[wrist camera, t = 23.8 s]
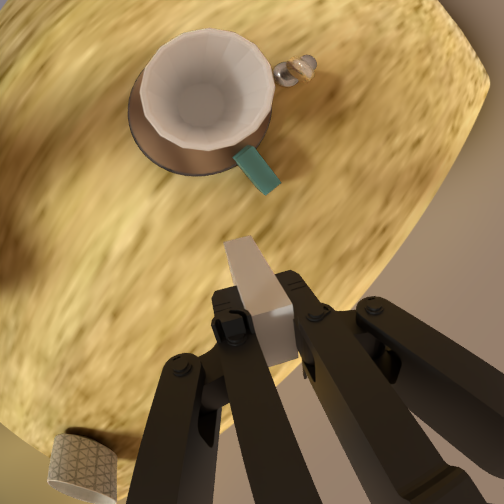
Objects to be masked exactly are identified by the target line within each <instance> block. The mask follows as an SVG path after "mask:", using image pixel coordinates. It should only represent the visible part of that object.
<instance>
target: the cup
mask: <svg viewBox="0 0 504 504" xmlns="http://www.w3.org/2000/svg"><path fill="white" fill-rule="evenodd" d="M274 91H275V84H274V79H273V74H272V70H271V66H270V63H269V62H268V60H267V59H266V58H265V56H264V55H263V54H262V52H261V51H260V50H259V48H258V47H257V46H256V45H255V44H254V43H252V42H250V41H249V40H247V39H245V38H244V37H242V36H240V35H239V34H237V33H235V32H231V31H225V30H219V29H213V28H205V29H200V30H195V31H190V32H185V33H182V34H180V35H179V36H177V37H175V38H174V39H172V40H170V41H169V42H167V43H166V44H164V45H162V46H161V47H160V48H159V49H158V51H157V52H156V53H155V55H154V56H153V57H152V59H151V60H150V61H149V63H148V64H147V65H146V67H145V70H144V74H143V78H142V83H141V87H140V97H141V101H142V106H143V110H144V115H145V117H146V118H147V119H148V121H149V122H150V123H151V125H152V126H153V127H154V128H155V130H156V131H157V132H158V134H159V135H160V136H162V137H164V138H166V139H167V140H169V141H171V142H173V143H175V144H176V145H178V146H180V147H182V148H188V149H196V150H204V151H212V150H216V149H220V148H224V147H228V146H233V145H236V144H237V143H239V142H240V141H242V140H243V139H245V138H246V137H247V136H249V135H251V134H252V133H254V132H255V131H256V130H257V129H258V128H259V126H260V125H261V123H262V122H263V120H264V119H265V117H266V116H267V115H268V113H269V112H270V110H271V105H272V100H273V96H274Z"/></svg>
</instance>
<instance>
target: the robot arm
mask: <svg viewBox="0 0 504 504" xmlns="http://www.w3.org/2000/svg"><path fill="white" fill-rule="evenodd" d="M223 243H224V247H225V251H226V255H227V259H228V263H229V267H230V271H231V275H232V279H233V283H234V286H233V287H229V288H225V289H221V290H217V291H215V292H214V294H213V296H212V305H213V310H214V316H215V317H214V318H213V319H212V323H211V326H212V329H213V332H214V335H215V338H216V340H217V343H216V344H215V346H214V347H213V348H212V349H211V350H210V351H208V352H207V353H205V354H203V355H201V356H199V357H197V356H196V355H194V354H191V353H182V354H178V355H176V356H174V357H171V358H170V359H169V360H168V361H167V362H166V364H165V365H164V367H163V370H162V373H161V376H160V379H159V383H158V386H157V389H156V392H155V396H154V399H153V402H152V406H151V409H150V413H149V416H148V420H147V423H146V427H145V430H144V434H143V437H142V441H141V445H140V448H139V452H138V456H137V460H136V464H135V468H134V472H133V476H132V480H131V484H130V488H129V493H128V497H127V501H126V504H213V492H214V482H215V471H216V461H217V451H218V440H219V431H220V422H221V412H222V406H224V405H226V404H228V403H230V406H231V411H232V415H233V420H234V424H235V428H236V433H237V437H238V441H239V444H240V448H241V453H242V457H243V461H244V464H245V468H246V472H247V476H248V480H249V483H250V487H251V491H252V494H253V498H254V501H255V504H322V501H321V499H320V497H319V494H318V492H317V489H316V487H315V485H314V483H313V480H312V477H311V475H310V473H309V470H308V468H307V466H306V463H305V461H304V458H303V456H302V453H301V451H300V448H299V446H298V443H297V441H296V438H295V436H294V433H293V431H292V428H291V425H290V423H289V421H288V418H287V415H286V413H285V410H284V408H283V405H282V402H281V400H280V397H279V395H278V392H277V389H276V387H275V384H274V381H273V379H272V376H271V373H270V371H269V368H268V367H271V366H274V365H278V364H281V363H284V362H287V361H290V360H293V359H296V358H298V351H299V353H300V355H301V357H302V366H303V376H304V379H306V378H307V376H308V378H309V380H310V383H311V385H312V386H313V389H314V390H315V392H316V394H317V396H318V399H319V401H320V403H321V404H322V407H323V409H324V411H325V413H326V415H327V417H328V419H329V421H330V423H331V425H332V427H333V429H334V431H335V433H336V435H337V437H338V439H339V441H340V443H341V445H342V447H343V449H344V451H345V453H346V455H347V457H348V459H349V460H350V463H351V465H352V467H353V469H354V471H355V473H356V475H357V476H358V479H359V481H360V483H361V485H362V487H363V489H364V491H365V493H366V495H367V497H368V498H369V500H370V502H371V504H490V503H486V501H485V499H484V498H483V497H482V495H481V493H480V492H479V490H478V488H477V487H476V485H475V484H474V482H473V481H472V479H471V478H470V476H469V475H468V474H467V473H466V472H465V471H464V470H463V469H461V468H459V467H456V466H450V465H448V464H447V463H446V462H445V461H444V460H443V459H442V457H441V456H440V454H439V453H438V451H437V450H436V448H435V447H434V445H433V444H432V442H431V441H430V439H429V438H428V436H427V435H426V434H425V432H424V431H423V429H422V428H421V426H420V425H419V424H418V422H417V421H416V419H415V418H414V416H413V415H412V414H411V412H413V413H414V414H415V415H416V416H417V417H419V418H420V419H421V420H422V421H424V422H425V423H426V424H427V425H428V426H430V427H431V428H432V429H433V430H434V431H436V432H437V433H438V434H439V435H441V436H442V437H443V438H444V439H445V440H447V441H448V442H449V443H450V444H452V445H453V446H454V447H455V448H456V449H458V450H459V451H460V452H462V453H463V454H464V455H465V456H466V457H468V458H469V459H470V460H471V461H473V462H474V463H475V464H476V465H478V466H479V467H480V468H482V469H483V470H485V471H486V472H488V473H489V474H491V475H493V476H496V477H498V478H501V479H504V374H503V373H502V372H500V371H499V370H497V369H496V368H494V367H493V366H491V365H490V364H488V363H487V362H485V361H484V360H482V359H480V358H479V357H478V356H476V355H474V354H473V353H471V352H470V351H468V350H467V349H465V348H464V347H462V346H461V345H459V344H457V343H456V342H454V341H453V340H451V339H450V338H448V337H446V336H445V335H443V334H442V333H440V332H438V331H437V330H435V329H434V328H432V327H430V326H429V325H427V324H426V323H424V322H422V321H420V320H419V319H418V318H416V317H414V316H413V315H411V314H409V313H408V312H406V311H405V310H403V309H401V308H400V307H398V306H396V305H395V304H393V303H391V302H390V301H388V300H386V299H384V298H381V297H376V296H372V297H366V298H364V299H362V300H361V301H359V302H358V304H357V307H356V310H349V311H335V310H334V309H333V308H332V307H331V306H329V305H327V304H324V303H320V301H319V300H318V299H317V297H316V296H315V295H314V293H313V292H312V291H311V289H310V288H309V287H308V286H307V284H306V283H305V281H304V280H303V279H302V277H301V276H300V275H299V274H298V273H296V272H294V271H292V270H288V271H285V272H281V273H277V274H274V273H273V271H272V270H271V268H270V266H269V265H268V263H267V261H266V260H265V258H264V256H263V255H262V253H261V251H260V250H259V248H258V246H257V245H256V243H255V242H254V240H253V238H252V237H251V235H250V236H246V237H242V238H238V239H234V240H230V241H226V242H223ZM306 374H307V375H306ZM409 410H410V411H411V412H410V411H409Z"/></svg>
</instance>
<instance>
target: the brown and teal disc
mask: <svg viewBox="0 0 504 504" xmlns="http://www.w3.org/2000/svg"><path fill="white" fill-rule="evenodd" d="M144 70H145V69H144ZM144 70H143V71H142V73H141V74H140V76H139V77H138V79H137V81H136V83H135V85H134V88H133V91H132V94H131V98H130V105H129V116H130V123H131V127H132V131H133V133H134V136H135V138H136V140H137V141H138V143H139V145H140V146H141V147H142V149H143V150H144V151H145V152H146V153H147V154H148V155H149V156H150V157H151V158H152V159H153V160H155V161H156V162H157V163H159V164H161V165H163V166H164V167H166V168H169V169H171V170H174V171H178V172H182V173H188V174H206V173H212V172H216V171H220V170H223V169H225V168H228V167H230V166H232V165H234V164H236V163H237V165H238V166H239V167H240V168H241V169H242V171H243V172H244V173H245V174H246V176H247V177H248V178H249V179H250V180H251V182H252V183H253V184H254V185H255V187H256V188H257V189H258V190H259V191H260V192H262V193H263V194H264V195H265V196H266V195H267V194H268V193H269V192H271V191H272V190H273V189H274V188H276V187H277V186H278V185H279V184H281V182H280V180H279V179H278V178H277V176H276V175H275V174H274V172H273V171H272V170H271V168H270V167H269V166H268V165H267V163H266V162H265V161H264V159H263V158H262V157H261V156H260V154H259V153H258V152H257V150H256V149H255V147H256V146H257V145H258V143H259V142H260V140H261V139H262V137H263V135H264V133H265V131H266V129H267V126H268V123H269V119H270V114H271V110H270V112H269V113H268V115H267V116H266V117H265V119H264V120H263V122H262V123H261V125H260V126H259V128H258V129H257V130H256V131H255V132H254V133H252V134H251V135H249V136H247V137H246V138H245V139H243V140H242V141H240V142H239V143H237V144H236V145H233V146H228V147H224V148H220V149H216V150H212V151H204V150H196V149H188V148H182V147H180V146H178V145H176V144H175V143H173V142H171V141H169V140H167V139H166V138H164V137H162V136H160V135H159V134H158V132H157V131H156V130H155V128H154V127H153V126H152V125H151V123H150V122H149V121H148V119H147V118H146V117H145V115H144V110H143V106H142V101H141V97H140V87H141V83H142V78H143V74H144Z"/></svg>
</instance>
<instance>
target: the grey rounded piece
mask: <svg viewBox="0 0 504 504" xmlns="http://www.w3.org/2000/svg"><path fill="white" fill-rule="evenodd" d="M316 67H317V62H316V60H315V58H314V57H312V56H310V55H304V56H302V57H300V58H299V57H292V58H291V59H290V60H289V61H288V62H282V63H279V64H278V65H276V66H275V68H274V69H273V78H274V80H275V82H276V83H277V84H279V85H280V86H283V87H291V86H293V85H295V84H297V83H298V81H299V80H300V81H302V82H304V83H308V82H309V81H310V80H311V79H312V78H313V77H314V76H315V72H314V69H316Z"/></svg>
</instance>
